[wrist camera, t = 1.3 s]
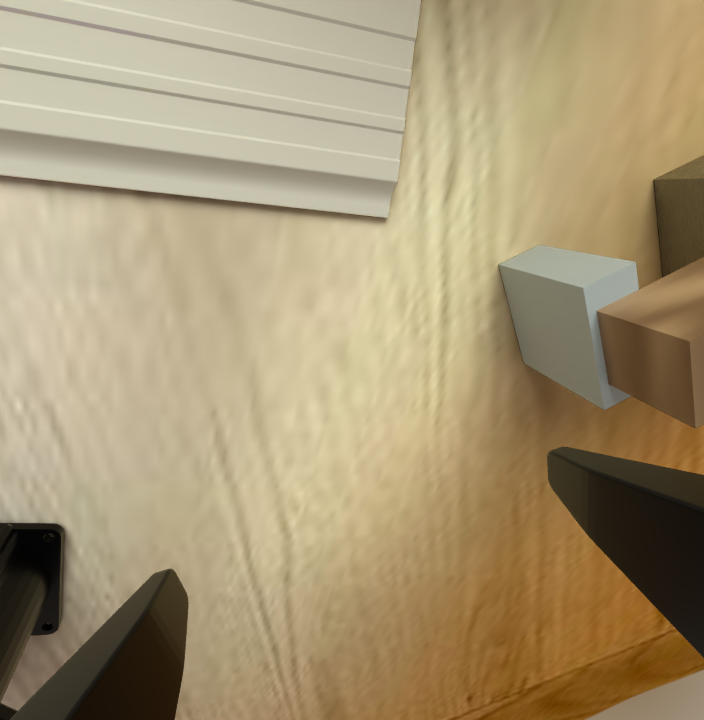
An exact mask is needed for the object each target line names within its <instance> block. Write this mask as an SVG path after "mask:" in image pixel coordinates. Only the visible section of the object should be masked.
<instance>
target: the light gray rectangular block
mask: <svg viewBox="0 0 704 720" xmlns="http://www.w3.org/2000/svg"><path fill="white" fill-rule="evenodd" d="M499 268H500V272H501V276H502V280H503V284H504V288H505V292H506V296H507V300H508V304H509V307H510V311H511V315H512V319H513V323H514V327H515V331H516V335H517V339H518V343H519V347H520V351H521V355H522V359H523V363H524V364H526V365H528V366H530V367H531V368H533V369H535V370H536V371H538V372H540V373H542V374H543V375H545V376H547V377H548V378H550V379H552V380H554V381H555V382H557V383H559V384H560V385H562V386H564V387H566V388H567V389H569V390H571V391H572V392H574V393H576V394H577V395H579V396H581V397H583V398H584V399H586V400H588V401H589V402H591V403H593V404H595V405H596V406H598V407H600V408H601V409H603V410H606V409H608V408H610V407H611V406H613V405H615V404H617V403H619V402H621V401H623V400H625V399H627V398H629V397H631V395H629V394H627V393H625V392H623V391H621V390H619V389H617V388H615V387H613V386H611V385H609V384H608V378H607V372H606V366H605V360H604V354H603V348H602V342H601V336H600V329H599V323H598V317H597V310H599V309H601V308H603V307H605V306H607V305H609V304H611V303H613V302H615V301H617V300H619V299H621V298H623V297H625V296H627V295H629V294H631V293H633V292H635V291H637V290H639V286H638V277H637V269H636V262H634V261H628V260H622V259H617V258H611V257H605V256H600V255H594V254H588V253H583V252H577V251H572V250H566V249H560V248H555V247H549V246H543V245H538V246H536V247H534V248H532V249H530V250H528V251H526V252H524V253H522V254H519V255H517V256H515V257H513V258H511V259H509V260H507V261H505V262H503V263H501V264H499Z"/></svg>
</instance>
